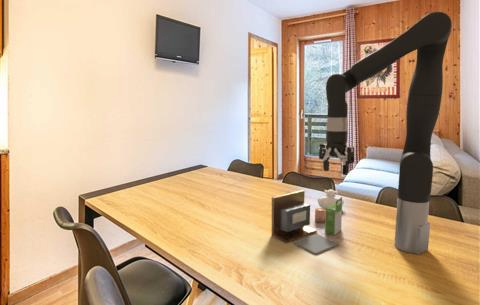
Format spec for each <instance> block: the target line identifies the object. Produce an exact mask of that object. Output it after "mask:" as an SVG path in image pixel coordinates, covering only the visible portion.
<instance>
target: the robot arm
mask: <svg viewBox="0 0 480 305" xmlns="http://www.w3.org/2000/svg"><path fill="white" fill-rule="evenodd" d="M452 25H453V23H452V19H451V17H450V16H449V14H447V13H445V12H443V11H433V12H430V13H427V14H425V15H424V16H423V17H422V18H420V19H419V20H417V21H416V22H415V23H414V24H413V25H411V26H410V27H409V28H407V30H406V31H404V32H403V33H402V34H401V33H400V35H398V36H397V37H396V38H394V39H392V40H391V41H389V42H388V43H387V44H385V45H383V46H382V47H380V48H378V49H376V50H375V51H373V52H371V53H370V54H368V55H366V56H364V57H362V59H360V60H358V61H356V62H355V63H353V65H352V66H350V68H349V69H347V70H345V71H344V72H343V73H334V74H331V75H330V76H329V77H328V78H327V80H326V84H325V94H326V101H327V118H326V128H325V130H326V133H325V142H326V143H320V144H319V152H318V158H319V160H322V162H323V165H322V166H323V167H322V168H323V171H324V172H329V171H330V159H331V158H333V157H335V158H338V159H339V160H340V161H341V163H342V170H341V171H342V172H341V174H342V175H344V176H346V175H348V174H349V170H350V165H351V164H354V163H355V147H354V146H347V142H348V130H349V127H348V126H349V122H348V113H349V112H348V111H349V110H348V108H349V106H348V103H347V101H346V100H347V99H346V95H347V94H346V93H348V92H349V91H352V90H353V89H354V88H355V87H356V88H357V86H359V85H360V84H361V83H363V82H366V81H368V80H369V79H371V78H372V77H373V78H374V76H376V75H378V74H380V73H381V72H383V71H384V70H386V69H388V68H389V67H390V66H392V65H393V64H395V63H396V62H397V61H399V60H400V59H401V58H403V57H405V56H406V55H408V54H411V53H412V52H414V51H416V61H415V63H416V64H415V67H414V71H413V74H412V77H411V80H410V83H409V84H410V85H409V88H408V94H407V102H406V112H405V113H406V114H405V115H406V117H405V120H406V124H405V127H406V134H405V140H404V141H405V142H404V145H403V146H404V147H403V150H402V154H401V158H400V161H399V172H398V187H397V201H396V215H395V216H396V217H395V229H394V246H395V248H397V249H398V250H401V251H403V252H406V253H410V254H416V255H422V254H423V253H425V252H426V251H428V250H429V245H430V244H429V243H430V241H429V240H430V230H431V223H430V222H429V211H430V210H429V209H430V199H431V193H432V186H433V176H434V164H433V161H432V159H431V148H432V145H431V144H432V136H433V132H434V129H435V127H436V124H437V122H438V121H437V120H438V118H439V114H440V110H441V103H442V97H443V86H444V85H443V82H444V79H443V78H444V77H443V76H444V75H443V74H444V72H443V63H444V58H445V55H446V54H445V53H446V49H447V45H448V41H449V37H450V35H451V32H452Z"/></svg>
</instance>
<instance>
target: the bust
mask: <svg viewBox="0 0 480 305" xmlns="http://www.w3.org/2000/svg"><path fill="white" fill-rule="evenodd" d="M324 193H325V194H326V195H325V196H322V197H319V198H317V199H316V200H317V203H318V206H319V208H322V209H325V210H326V208H328V207H329V206H331V205H332V204H335V205H336V201H337V200H338V199H340V198H341V197H340V198H338V197H336V196H337V195H336V194H338V191H337V190H334V189H333V188H331V189H328V190H327V189H324ZM340 203H341V201H339V202H338V203H337V205H338V204H340ZM344 203H345V201H344V200H343V199H342V207H343V206H344Z"/></svg>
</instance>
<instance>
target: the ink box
mask: <svg viewBox="0 0 480 305" xmlns="http://www.w3.org/2000/svg"><path fill="white" fill-rule="evenodd" d="M342 200H343V197H342V196H341V197H340V199H338V200H337V201H336V205H335V204H332V205H331V206H329V207H328V208H326V209H325V210H326V220H325V223H324V227H325V228H324V233H325V234H328V235H332V236H335V235H336V234H338V233H339V232H340V231H341V230H342V218H343V216H342V215H343V214H342V213H343V211H342V210H343V206H342ZM339 201H341V203H340V204H338V205H337V203H338V202H339Z"/></svg>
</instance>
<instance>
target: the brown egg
mask: <svg viewBox="0 0 480 305" xmlns="http://www.w3.org/2000/svg"><path fill="white" fill-rule="evenodd" d="M325 220H326V209H324V208H322V207H317V208H315V209H314V222H315V223H318V224H325Z"/></svg>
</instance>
